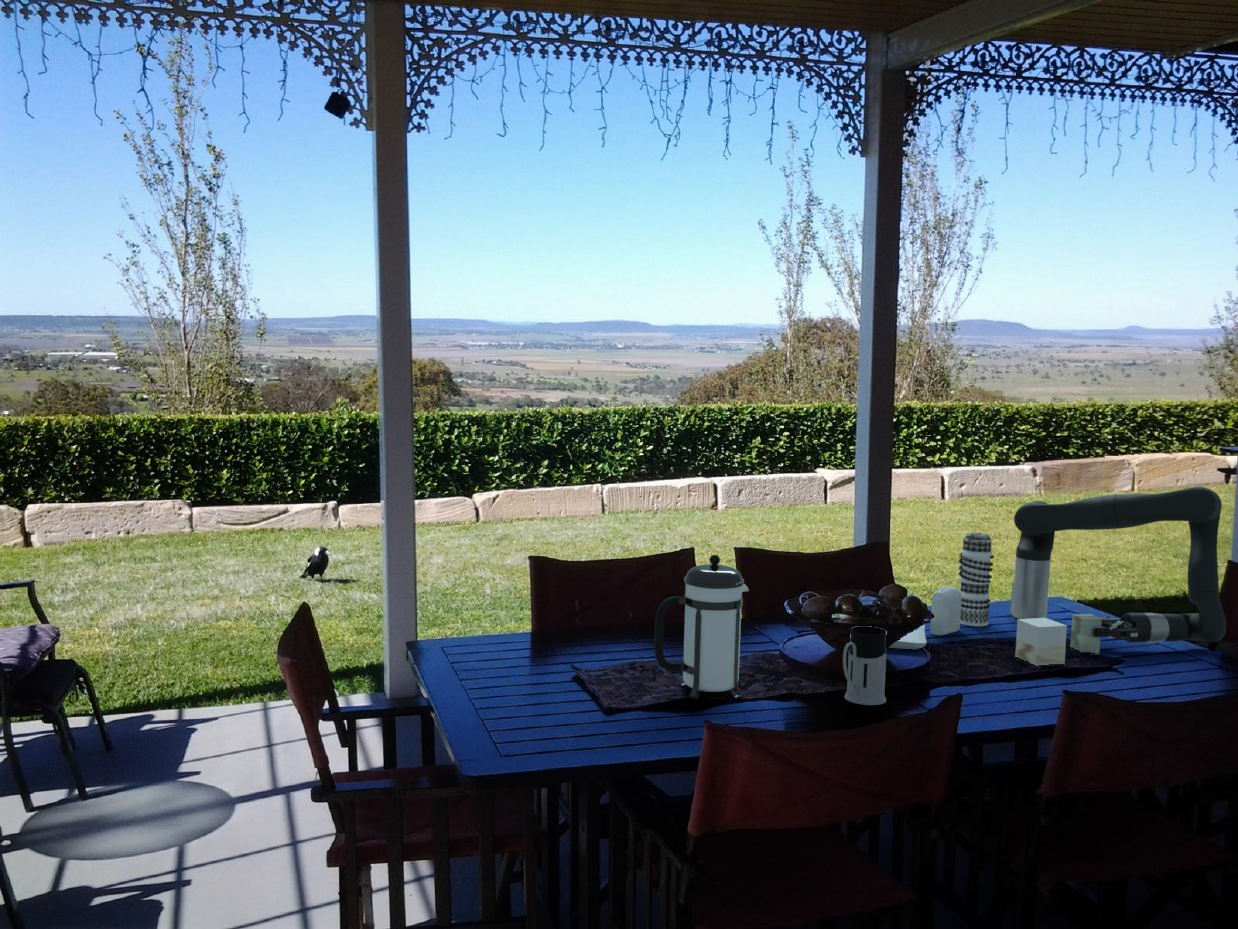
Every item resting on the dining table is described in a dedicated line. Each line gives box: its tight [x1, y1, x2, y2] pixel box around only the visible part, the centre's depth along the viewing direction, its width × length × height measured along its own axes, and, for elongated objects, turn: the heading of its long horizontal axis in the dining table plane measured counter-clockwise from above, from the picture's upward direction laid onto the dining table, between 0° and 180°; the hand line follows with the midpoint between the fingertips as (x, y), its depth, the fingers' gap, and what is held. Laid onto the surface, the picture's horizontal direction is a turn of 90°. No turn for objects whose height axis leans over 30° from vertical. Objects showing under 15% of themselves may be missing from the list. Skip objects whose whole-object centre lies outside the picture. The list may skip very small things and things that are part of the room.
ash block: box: [1014, 638, 1067, 666], centre depth 267 cm, size 8×8×5 cm
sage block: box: [1069, 613, 1102, 655], centre depth 278 cm, size 5×5×9 cm
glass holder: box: [842, 626, 887, 706], centre depth 233 cm, size 9×14×15 cm, turn 138°
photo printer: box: [929, 585, 962, 636], centre depth 294 cm, size 10×4×12 cm, turn 134°
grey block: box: [1015, 618, 1068, 648], centre depth 267 cm, size 8×8×5 cm
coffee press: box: [654, 554, 750, 700], centre depth 236 cm, size 17×16×30 cm
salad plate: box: [890, 623, 927, 650], centre depth 284 cm, size 21×21×3 cm
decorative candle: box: [958, 532, 995, 627], centre depth 305 cm, size 9×9×25 cm
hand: (1084, 628), depth 278 cm, fingers open, 8 cm apart
